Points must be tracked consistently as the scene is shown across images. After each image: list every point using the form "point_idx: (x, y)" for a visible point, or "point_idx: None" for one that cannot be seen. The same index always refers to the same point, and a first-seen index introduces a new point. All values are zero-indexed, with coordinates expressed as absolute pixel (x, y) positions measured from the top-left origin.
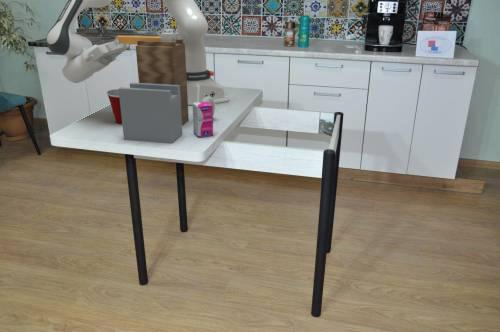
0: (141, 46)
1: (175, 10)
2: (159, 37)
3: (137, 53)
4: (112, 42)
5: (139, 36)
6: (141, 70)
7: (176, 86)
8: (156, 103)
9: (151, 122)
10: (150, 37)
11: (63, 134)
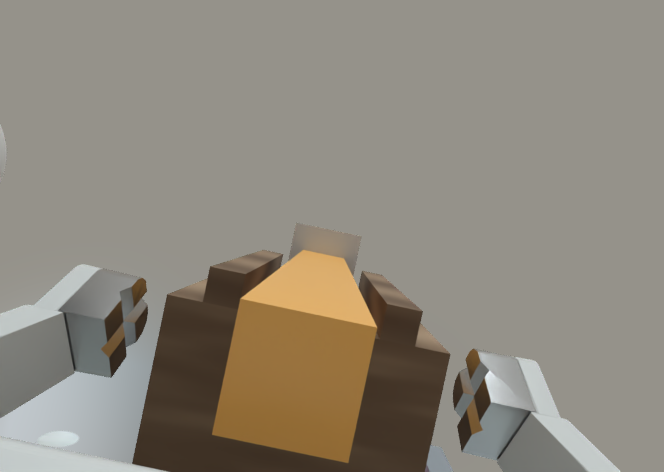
0: (435, 341)
1: None
2: (331, 256)
3: (434, 409)
4: (570, 438)
5: (304, 265)
6: None
7: (441, 451)
8: None
9: None
10: (346, 264)
11: None
